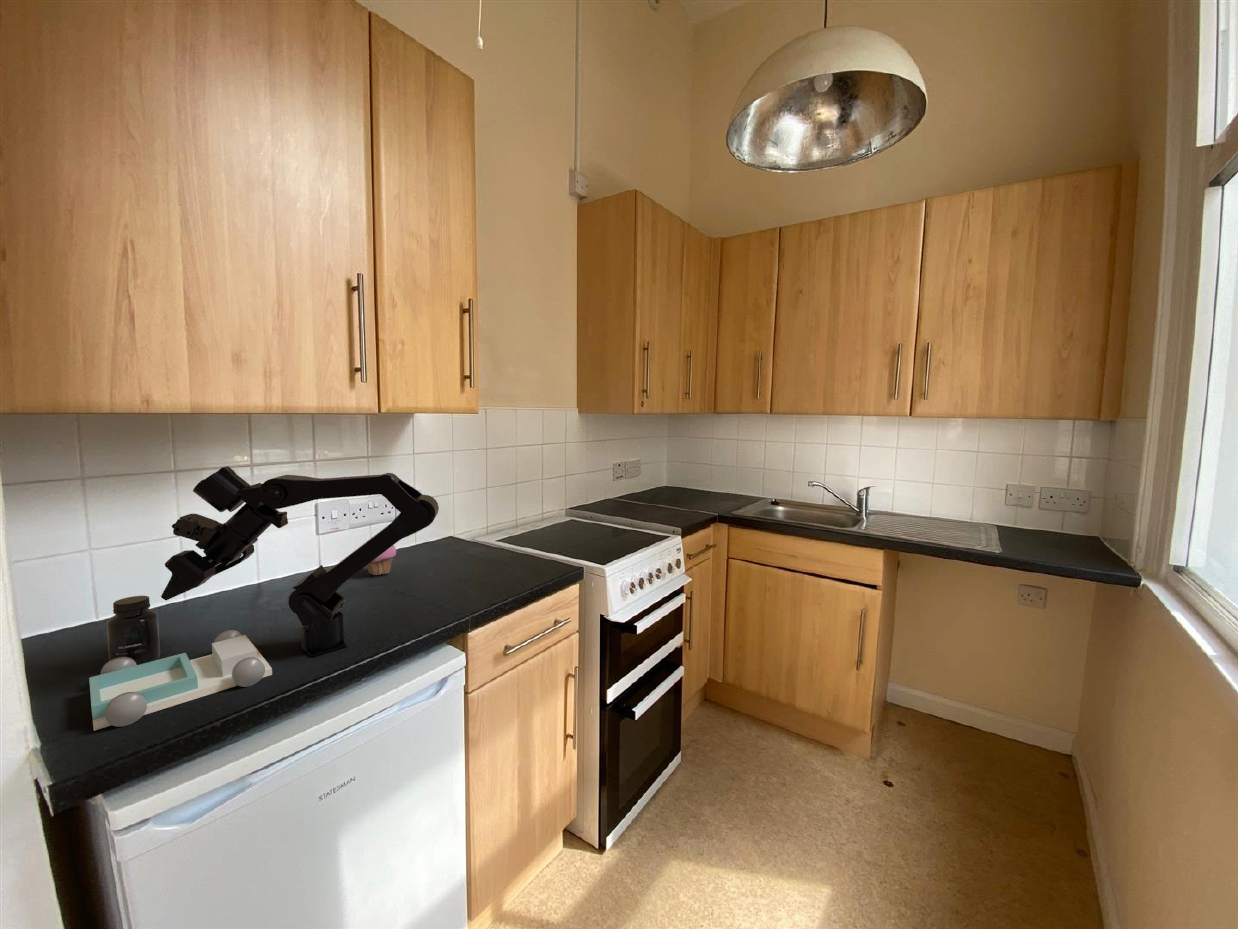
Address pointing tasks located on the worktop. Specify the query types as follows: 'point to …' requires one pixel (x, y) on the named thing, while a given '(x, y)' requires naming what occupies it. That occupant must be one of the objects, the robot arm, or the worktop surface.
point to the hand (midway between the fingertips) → (180, 589)
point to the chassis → (172, 680)
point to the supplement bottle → (133, 630)
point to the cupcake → (382, 562)
